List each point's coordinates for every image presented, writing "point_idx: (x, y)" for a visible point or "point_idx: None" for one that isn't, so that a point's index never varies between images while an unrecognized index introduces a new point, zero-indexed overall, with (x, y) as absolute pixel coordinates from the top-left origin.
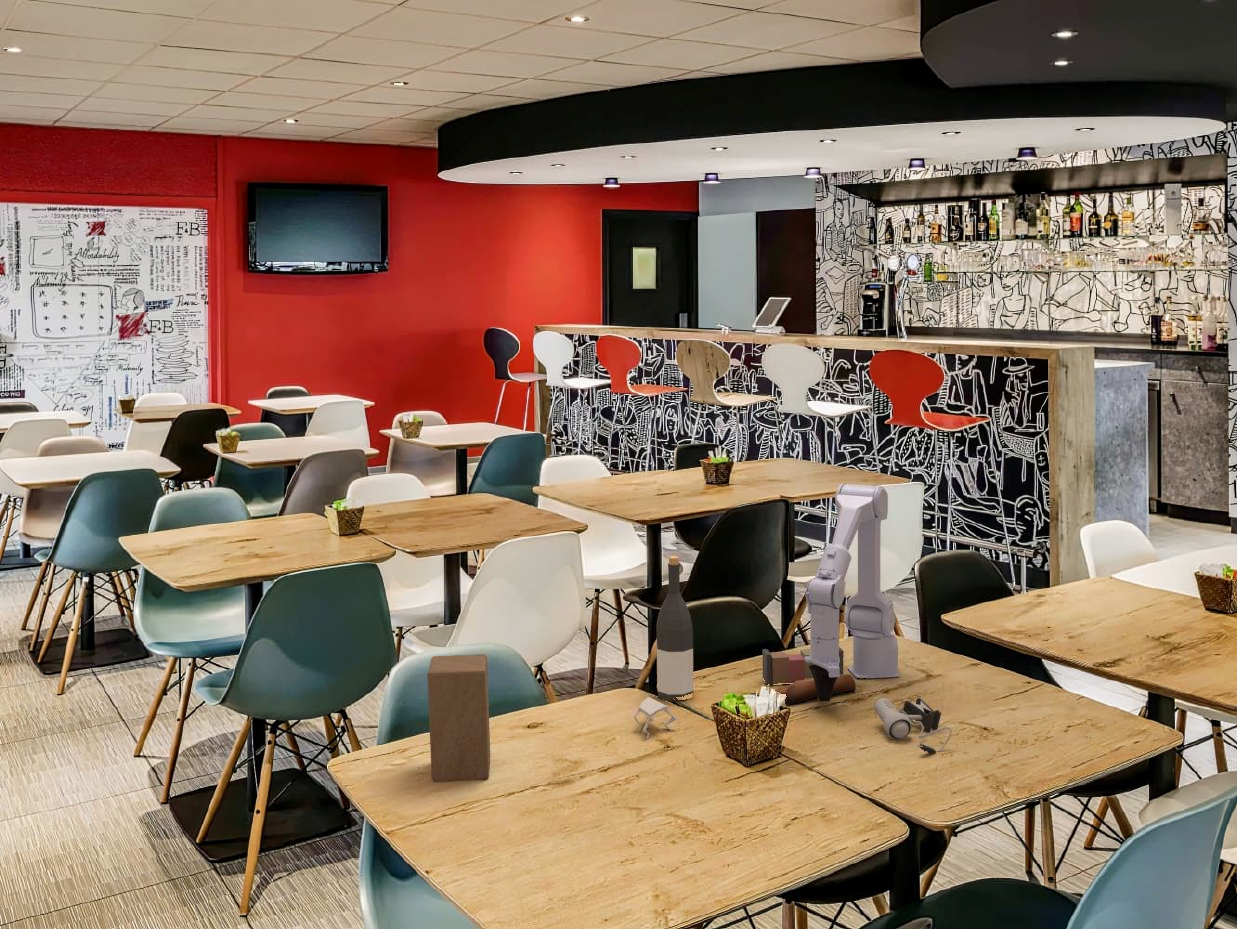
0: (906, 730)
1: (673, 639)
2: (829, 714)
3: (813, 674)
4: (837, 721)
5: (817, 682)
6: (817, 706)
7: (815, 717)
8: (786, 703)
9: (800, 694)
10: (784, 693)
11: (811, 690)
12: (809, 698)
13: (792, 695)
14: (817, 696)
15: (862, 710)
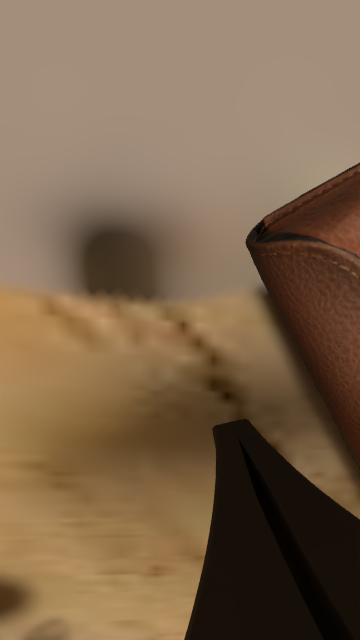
0: None
1: None
2: (127, 436)
3: (323, 591)
4: (35, 464)
5: (215, 549)
6: (237, 391)
7: (75, 377)
8: (269, 235)
9: (306, 335)
10: (329, 224)
11: (346, 402)
12: (308, 368)
13: (289, 282)
14: (327, 406)
15: (184, 538)
